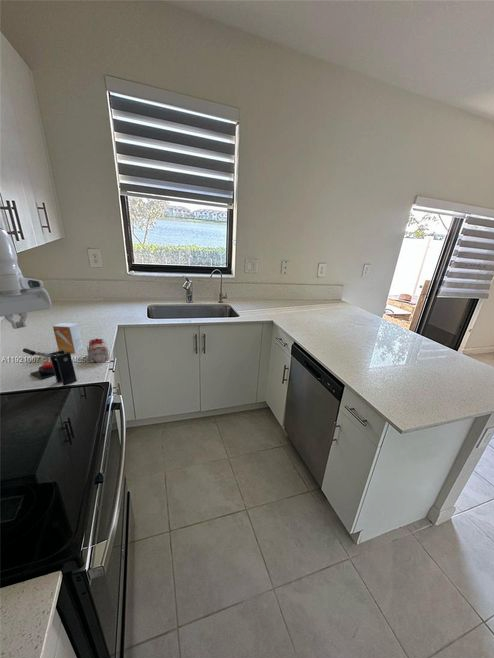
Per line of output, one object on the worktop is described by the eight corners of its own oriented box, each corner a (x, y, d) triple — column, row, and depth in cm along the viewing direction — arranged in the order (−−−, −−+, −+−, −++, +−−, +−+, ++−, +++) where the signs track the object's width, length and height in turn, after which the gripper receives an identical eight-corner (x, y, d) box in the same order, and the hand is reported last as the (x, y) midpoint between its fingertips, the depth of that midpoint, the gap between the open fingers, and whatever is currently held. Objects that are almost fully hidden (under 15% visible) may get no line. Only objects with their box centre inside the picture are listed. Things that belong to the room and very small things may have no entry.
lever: (29, 356, 93) (31, 349, 93) (21, 353, 95) (23, 346, 95) (67, 363, 104) (69, 356, 104) (59, 360, 106) (62, 354, 106)
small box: (58, 352, 137) (52, 325, 133) (67, 348, 143) (61, 322, 138) (75, 353, 137) (69, 326, 132) (83, 348, 143) (78, 323, 138)
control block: (42, 383, 109) (40, 373, 107) (31, 378, 112) (28, 368, 111) (70, 373, 117) (68, 364, 115) (59, 369, 120) (57, 360, 119)
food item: (111, 363, 128) (107, 342, 124) (90, 367, 124) (85, 345, 120) (108, 353, 138) (104, 334, 134) (88, 356, 134) (84, 336, 130)
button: (46, 370, 111) (45, 366, 110) (41, 368, 112) (40, 364, 112) (56, 367, 114) (55, 363, 113) (51, 365, 115) (50, 361, 115)
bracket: (57, 394, 101) (48, 361, 96) (43, 388, 105) (33, 355, 100) (90, 381, 111) (84, 350, 106) (77, 376, 115) (69, 346, 110)
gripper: (-36, 288, 78) (-18, 337, 83) (48, 281, 94) (58, 322, 100) (-46, 286, 80) (-28, 333, 86) (38, 279, 97) (48, 319, 102)
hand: (19, 327), depth 93 cm, fingers closed
